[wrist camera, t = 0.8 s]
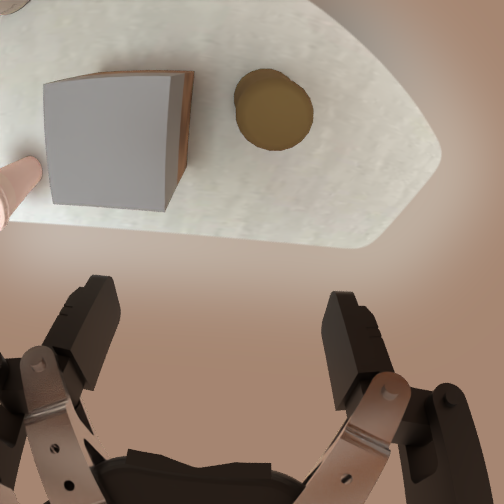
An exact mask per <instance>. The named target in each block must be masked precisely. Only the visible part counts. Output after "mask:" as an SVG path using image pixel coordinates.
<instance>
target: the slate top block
mask: <svg viewBox="0 0 504 504" xmlns="http://www.w3.org/2000/svg"><path fill="white" fill-rule="evenodd" d="M184 77H185V73H118V74H102V75H89V76H79V77H72V78H67V79H63V80H59V81H54V82H50V83H46V84H43V104H44V129H45V143H46V154H47V164H48V173H49V180H50V187H51V194H52V200H53V204H61V205H77V206H92V207H106V208H119V209H132V210H145V211H157V212H165V210H166V208H167V206H168V204H169V202H170V200H171V198H172V195H173V193H174V191H175V189H176V187H177V175H178V154H179V137H180V122H181V109H182V98H183V87H184Z"/></svg>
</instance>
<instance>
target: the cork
mask: <svg viewBox="0 0 504 504" xmlns="http://www.w3.org/2000/svg"><path fill="white" fill-rule="evenodd" d="M234 104H235V107H236V121H237V124H238V127H239V129H240V132H241V133H242V134H243V135H244V137H245V138H246V139H247V140H248V141H249V142H251V143H252V144H254V145H255V146H257V147H259V148H263V149H266V150H269V151H281V150H285V149H288V148H292V147H293V146H295V145H297V144H298V143H300V142H301V141H302V140H303V139H304V138H305V136H306V135H307V134H308V133H309V130H310V128H311V125H312V123H313V106H312V103H311V100H310V98H309V96H308V95H307V93H306V92H305V90H304V89H303V88H302V87H300V86H299V85H298V84H296V83H295V82H293V81H291V80H290V79H289V78H288V77H287V76H285V75H284V74H283V73H281V72H279V71H276V70H273V69H258V70H255V71H252V72H250V73H248V74H247V75H245V76H244V77H243V78H242V79H241V80H240V82H239V83H238V84H237V87H236V90H235V93H234Z"/></svg>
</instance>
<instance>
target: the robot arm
mask: <svg viewBox="0 0 504 504" xmlns="http://www.w3.org/2000/svg"><path fill="white" fill-rule="evenodd" d="M29 1H30V0H0V15H7V14H11V13H13V12H15V11H17V10H19V9H20V8H22V7H23V6H24V5H25V4H26V3H27V2H29ZM120 311H121V310H120V304H119V301H118V297H117V293H116V289H115V285H114V281H113V279H112V277H110V276H101V275H92V276H91V277H90V278H89V280H88V282H87V283H86V285H85V286H84V287H79V288H78V289H77V290H76V291H74V292H73V293H72V294H71V295H70V296H69V298H68V299H67V301H66V303H65V304H64V307H63V308H62V309H61V311H60V314H59V315H58V316H57V318H56V320H55V322H54V323H53V325H52V327H51V329H50V331H49V333H48V334H47V336H46V338H45V340H44V342H43V344H42V345H41V346H35V347H32V348H31V349H29V350H28V351H26V352H25V353H24V355H23V357H22V358H11V359H10V358H9V359H4V357H3V356H2V354H1V353H0V403H1V404H0V504H19V502H18V501H17V498H16V495H15V493H14V492H13V491H14V486H15V481H16V476H17V472H18V467H19V463H20V459H21V455H22V451H23V447H24V444H25V440H26V437H28V440H29V444H30V447H31V451H32V454H33V457H34V461H35V463H36V466H37V470H38V473H39V475H40V478H41V481H42V483H43V486H44V489H45V492H46V494H47V496H48V499H49V500H48V501H47V502H45V503H44V504H364V503H365V501H366V499H367V498H368V496H369V494H370V492H371V491H372V489H373V487H374V485H375V484H376V482H377V480H378V478H379V476H380V474H381V472H382V470H383V469H384V467H385V465H386V463H387V461H388V459H389V456H390V450H389V445H390V443H396V444H398V447H399V454H400V460H401V466H402V472H403V480H404V487H405V495H406V503H407V504H493V498H492V493H491V487H490V483H489V478H488V473H487V469H486V465H485V461H484V457H483V453H482V449H481V446H480V442H479V438H478V435H477V432H476V428H475V425H474V422H473V419H472V415H471V412H470V409H469V406H468V403H467V400H466V398H465V395H464V393H463V392H462V391H461V390H460V389H459V388H458V387H457V386H455V385H453V384H450V383H443V384H440V385H438V386H437V387H436V389H435V390H434V391H428V390H422V389H417V388H412V387H410V386H409V384H408V382H407V381H406V380H405V379H404V378H403V377H402V376H401V375H399V374H397V373H395V372H394V369H393V366H392V364H391V361H390V358H389V355H388V352H387V349H386V347H385V344H384V341H383V339H382V338H381V333H380V331H379V329H378V325H377V322H376V320H375V317H374V315H373V314H372V313H371V312H370V311H369V310H368V309H367V307H366V306H358V303H357V300H356V298H355V295H354V293H353V292H344V291H343V292H342V291H333V292H332V293H331V295H330V298H329V301H328V305H327V308H326V311H325V314H324V318H323V321H322V329H321V334H322V340H323V345H324V350H325V355H326V360H327V366H328V371H329V376H330V381H331V387H332V392H333V398H334V404H335V409H336V411H337V410H346V414H347V418H346V420H345V421H344V423H343V424H342V426H341V428H340V430H339V431H338V432H337V434H336V436H335V437H334V439H333V440H332V442H331V443H330V445H329V446H328V448H327V449H326V451H325V452H324V453H323V455H322V456H321V458H320V459H319V460H318V462H317V463H316V464H315V466H314V467H313V468H312V469H311V471H310V472H309V473H308V475H307V476H306V477H305V479H304V480H303V481H302V483H301V482H299V481H298V480H296V479H294V478H293V477H290V476H288V475H286V474H283V473H280V472H277V471H273V470H271V463H238V462H234V463H229V464H222V465H216V466H210V467H202V468H196V467H192V466H189V465H186V464H184V463H181V462H178V461H176V460H173V459H170V458H168V457H165V456H163V455H159V454H153V453H147V452H141V451H136V450H131V449H128V452H127V456H123V457H116V458H112V459H110V457H109V455H108V453H107V452H106V450H105V449H104V447H103V446H102V444H101V442H100V441H99V439H98V437H97V435H96V432H95V430H94V428H93V425H92V423H91V420H90V418H89V416H88V413H87V410H86V408H85V405H84V403H83V400H82V398H81V393H82V390H83V389H87V390H91V391H94V388H95V385H96V382H97V379H98V376H99V373H100V371H101V368H102V365H103V362H104V359H105V357H106V354H107V352H108V349H109V346H110V344H111V341H112V339H113V336H114V334H115V331H116V329H117V326H118V324H119V321H120V314H121V312H120Z"/></svg>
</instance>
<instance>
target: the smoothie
mask: <svg viewBox="0 0 504 504" xmlns="http://www.w3.org/2000/svg"><path fill="white" fill-rule="evenodd" d="M41 177H42V167H41V164H40V163H39V161H38V160H37V159H36V158H34V157H32V156H27V157H25V158H23V159H20V160H18V161H16V162H13V163H11V164H9V165H7V166H4V167H2V168H0V231H1V230H2V229H4V228H5V226H6V225H7V223H8V221H9V217H10V216H11V215H12V213H13V212H14V211H15V210H16V208H17V207H18V206H19V205H20V203H21V202H22V201H23V200H24V198H25V197H26V196H27V195H28V194H29V192H30V191H31V190H32V189H33V188H34V187H35V186H36V184H37V183H38V182H39V181H40V180H41Z"/></svg>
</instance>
